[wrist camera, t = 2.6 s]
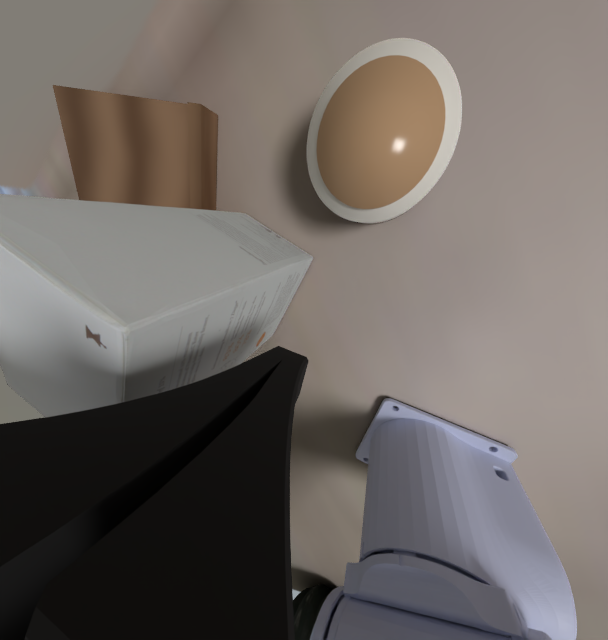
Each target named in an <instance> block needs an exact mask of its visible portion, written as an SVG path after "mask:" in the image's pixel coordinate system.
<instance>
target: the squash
mask: <svg viewBox="0 0 608 640" xmlns="http://www.w3.org/2000/svg"><path fill="white" fill-rule="evenodd" d="M330 593H331V592H330V591H329V589H328V588H327V587H326V586H324V585H316V586H315V587H313V588H307V589H305V590H303V591H302V592H301V593H300V594H298V595H297V597H296V598H295V599H294V600H293V616H294V633H295V640H310V637H311V633H312V630H313V627H314V625H315V622H316V620H317V616H318V614H319V612H320V609H321V607H322V605H323V603H324V601H325V600H326V598H327V596H328V595H329V594H330Z"/></svg>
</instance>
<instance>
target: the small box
mask: <svg viewBox="0 0 608 640" xmlns="http://www.w3.org/2000/svg"><path fill="white" fill-rule="evenodd" d="M312 260H313V257H312V256H311V255H310V254H308V253H306V252H305V251H303V250H302V249H300V248H299V247H297V246H295V245H294V244H292V243H291V242H289V241H288V240H286V239H284V238H283V237H281V236H280V235H278V234H276V233H275V232H273V231H272V230H270V229H269V228H267V227H265V226H264V225H262V224H261V223H259V222H258V221H256V220H255V219H253V218H252V217H250V216H249V215H247V214H245V213H239V212H226V211H215V210H203V209H190V208H176V207H162V206H148V205H138V204H125V203H113V202H98V201H84V200H71V199H58V198H46V197H33V196H19V195H6V194H0V366H1V368H2V371H3V373H4V376H5V379H6V382H7V385H8V386H9V387H11V389H13V390H14V391H15V392H16V393H17V394H18V395H19V396H20V397H22V398H23V399H24V400H25V401H26V402H28V403H29V404H30V405H31V406H32V407H34V408H35V409H36V410H37V411H38V412H40V413H41V414H42V415H43V416H44V417H51V416H57V415H63V414H68V413H73V412H79V411H84V410H89V409H94V408H99V407H104V406H109V405H113V404H118V403H122V402H126V401H130V400H134V399H138V398H142V397H146V396H150V395H154V394H158V393H162V392H165V391H169V390H172V389H175V388H178V387H182V386H185V385H188V384H191V383H194V382H197V381H200V380H203V379H205V378H208V377H210V376H213V375H215V374H218V373H220V372H223V371H225V370H228V369H230V368H233V367H235V366H237V365H239V364H241V363H242V362H243V361H244V360H246V359H247V358H248V357H249V356H250V355H251V354H252V353H253V352H254V351H256V350H257V349H258V348H259V347H260V346H261V345H262V344H263V343H265V342H266V341H267V340H268V339H269V338H270V337H271V336H272V335H273V334H274V332H275V330H276V328H277V327H278V325H279V323H280V321H281V319H282V317H283V316H284V314H285V312H286V310H287V308H288V306H289V304H290V302H291V300H292V298H293V296H294V295H295V293H296V291H297V289H298V287H299V285H300V283H301V281H302V279H303V277H304V275H305V273H306V271H307V270H308V268H309V266H310V264H311V262H312Z"/></svg>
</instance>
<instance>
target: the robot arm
mask: <svg viewBox="0 0 608 640" xmlns="http://www.w3.org/2000/svg"><path fill="white" fill-rule="evenodd" d="M307 364H308V359H307V357H305V356H302V355H300V354H297V353H295V352H292V351H290V350H287V349H285V348H282V347H280V346H278V347H275V348H273V349H271V350H269V351H267V352H265V353H263V354H261V355H259V356H257V357H254V358H252V359H250V360H248V361H246V362H244V363H241V364H239V365H237V366H235V367H233V368H230V369H228V370H225V371H223V372H220V373H218V374H215V375H213V376H210V377H208V378H205V379H203V380H200V381H197V382H194V383H191V384H188V385H185V386H182V387H178V388H175V389H172V390H169V391H165V392H162V393H158V394H154V395H150V396H146V397H142V398H138V399H134V400H130V401H126V402H122V403H118V404H113V405H109V406H104V407H99V408H94V409H89V410H84V411H79V412H73V413H68V414H63V415H57V416H51V417H45V418H39V419H32V420H26V421H19V422H12V423H6V424H0V640H295V633H294V616H293V598H292V576H291V549H290V451H291V435H292V423H293V415H294V407H295V403H296V401H297V398H298V396H299V394H300V390H301V386H302V383H303V379H304V375H305V372H306V368H307ZM393 406H397V407H398V408H394V407H393ZM517 457H518V456H517V453H516V452H515V450H514V449H513V448H511V447H509V446H506V445H504V444H501V443H499V442H496V441H494V440H491V439H489V438H487V437H484V436H482V435H479V434H477V433H474V432H472V431H469V430H467V429H464V428H462V427H460V426H457V425H455V424H452V423H450V422H447V421H445V420H442V419H440V418H438V417H435V416H433V415H430V414H428V413H425V412H423V411H420V410H418V409H416V408H413V407H411V406H408V405H406V404H403V403H401V402H398V401H396V400H394V399H391V398H386V399H384V400H383V401H382V403H381V405H380V407H379V409H378V411H377V413H376V415H375V417H374V419H373V420H372V422H371V424H370V426H369V428H368V430H367V432H366V434H365V436H364V438H363V439H362V441H361V443H360V445H359V447H358V449H357V451H356V458H357V459H358V460H360V461H362V462H364V463H366V464H368V473H367V484H366V495H365V506H364V516H363V527H362V538H361V549H360V560H359V563H347V566H346V574H345V582H344V586H340V587H337V588H335V589H334V590H332V591H331V593H330V594H329V595H328V596H327V598H326V600H325V601H324V603H323V605H322V607H321V609H320V612H319V614H318V616H317V620H316V622H315V625H314V627H313V630H312V633H311V637H310V640H576V635H577V619H576V611H575V604H574V599H573V595H572V591H571V587H570V584H569V581H568V578H567V575H566V572H565V570H564V568H563V566H562V563H561V561H560V559H559V557H558V555H557V553H556V551H555V549H554V547H553V545H552V543H551V541H550V539H549V537H548V535H547V534H546V532H545V530H544V528H543V526H542V524H541V522H540V520H539V518H538V516H537V514H536V512H535V510H534V508H533V506H532V504H531V502H530V500H529V498H528V496H527V494H526V492H525V490H524V488H523V486H522V484H521V483H520V481H519V479H518V477H517V475H516V473H515V471H514V469H513V467H512V465H511V463H512V462H513V461H514V460H516V459H517Z"/></svg>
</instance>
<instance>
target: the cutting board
mask: <svg viewBox="0 0 608 640" xmlns="http://www.w3.org/2000/svg"><path fill="white" fill-rule="evenodd" d="M53 88H54V93H55V97H56V102H57V106H58V110H59V114H60V119H61V123H62V127H63V132H64V136H65V140H66V145H67V149H68V153H69V157H70V162H71V166H72V170H73V175H74V179H75V183H76V188H77V192H78V196H79V200H84V201H98V202H113V203H125V204H138V205H148V206H162V207H176V208H190V209H203V210H215V211H216V185H217V137H218V115H217V114H215V113H214V112H212V111H211V110H209V109H208V108H206V107H205V106H203V105H201V104H196V103H189V102H188V104H183V103H176V102H169V101H162V100H155V99H148V98H141V97H134V96H127V95H120V94H112V93H105V92H98V91H91V90H84V89H77V88H69V87H62V86H56V85H53Z"/></svg>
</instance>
